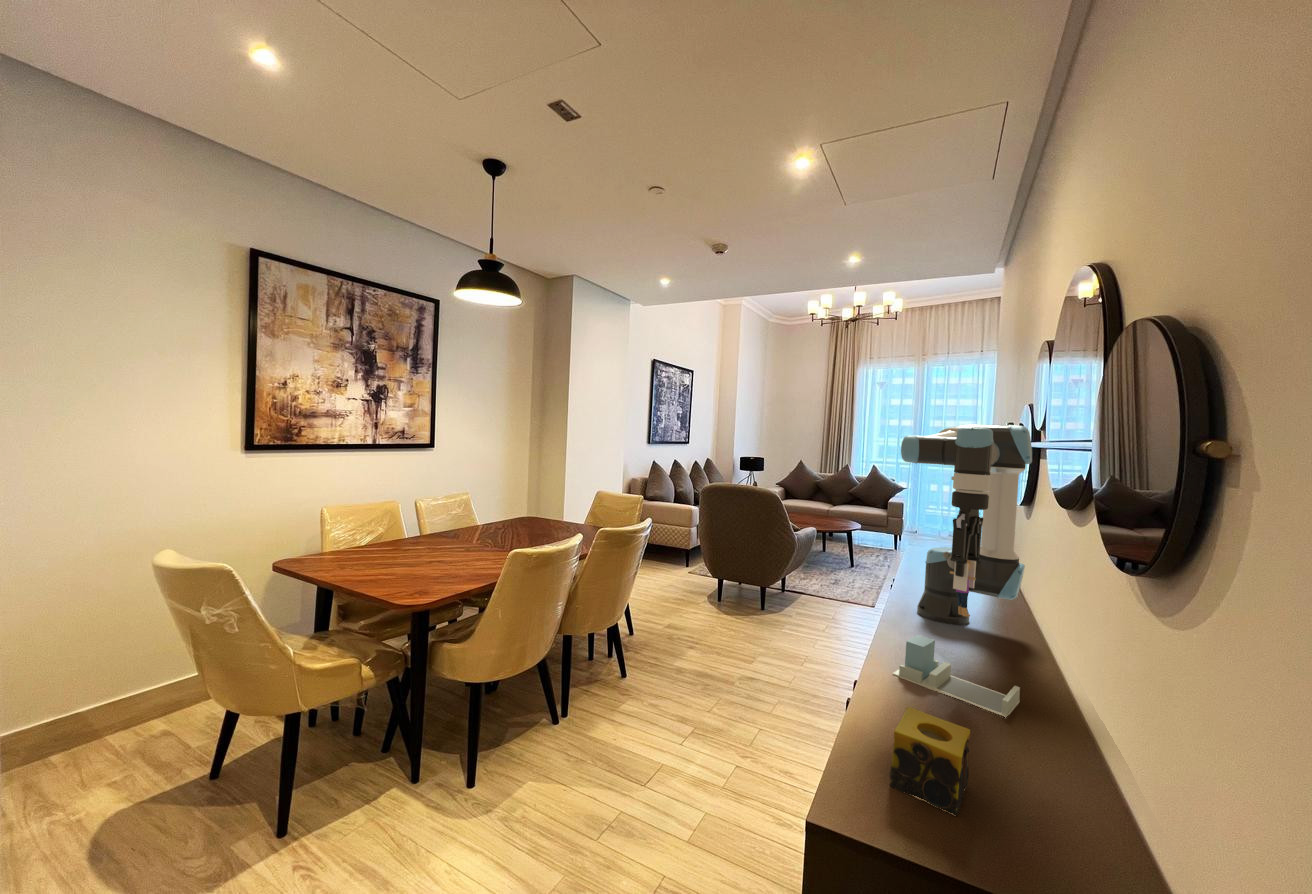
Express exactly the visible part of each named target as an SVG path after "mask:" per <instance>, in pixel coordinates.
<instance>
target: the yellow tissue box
mask: <svg viewBox="0 0 1312 894" xmlns="http://www.w3.org/2000/svg"><path fill="white" fill-rule="evenodd" d="M970 737H971V729H969V728H968V727H964V726H962V725H959V724H956V723H953V722H951V721H948V720H946V719H942V718H939V717H937V716H934V715H931V714H928V713H926V712H923V711H921V710H918V709H916V708H912V707H911V706H907V708H906V709H905V712H904V714H903V716H902V718H901V720H899V722H898V724H897V726H896V727H895V728H894V733H893V739H894V740H893V750H892V759H891V763H890V764H891V765H890V770H889V780H890V782H889V786H890V787H891V788H893V789H895V790H897V791H899V792H900V793H903V792H905V793H904V794H906V793H908V794H911V795H914V796H917V797H919V798H921V799H924V800H926V801H927V802H929V803H930V804H932V805H934V806H936V807H938V808H941V809H943V810H946V811H948V812H950V813H953V814H954V815H957V816H958V815H959V813H960V809H961V808H960V806H961V807H962V805H961V803H963V801H964V799H963V797H964V796H963V792H964V789H965V788H966V787H967V785H968V786H969V783H968V779H969V775H970V774H969V773H970V772H969V764H968V762H969V760H968V754H969V752H970V749H969V742H970V741H969V740H970ZM967 788H968V787H967ZM967 788H966V789H967ZM964 793H965V792H964ZM908 794H907V795H908ZM962 800H963V801H962ZM938 808H937V809H938ZM959 808H960V809H959ZM941 809H940V810H941ZM958 812H959V813H958Z"/></svg>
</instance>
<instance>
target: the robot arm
mask: <svg viewBox="0 0 1312 894" xmlns="http://www.w3.org/2000/svg"><path fill="white" fill-rule="evenodd" d="M1031 439H1032V438H1031V433H1030V430H1029V429H1028V428H1027V427H1026V426H1025V425H1018V424H1016V425H1013V424H978V423H977V424H974V423H973V424H970V423H968V424H962V425H956V426H952V427H948V428H944V429H942V430H940V431H939V432H938V433H934V434H929V435H917V434H916V435H906V436H904V437H903V439H902V441H901V445H900V447H901V448H900V455H901V459H902V460H903V461H904V462H906V463H910V464H911V463H912V464H926V465H927V464H928V465H943V466H953V467H954V469H953V475H952V476H951V478H950V479H951V480H952V483H953V484H952V488H953V490H954V491H952V493H951V506H952V507H954V508H958V509H959V510H958V514H957V516H956V518H955V517H954V518H953V519H952V527H953V528H952V529H953V531H952V545H951V547H950V546H948V547H947V546H945V547H943V546H941V547H933V548H930V549H929V550H928V551H927V553H926V559H925V574H924V590H923V593H922V595H921V597H920V600H919V601H918V604H917V610H916V612H917V614H918V615H919V616H920V617H922V618H924V619H927V620H930V621H933V622H936V623H941V624H944V623H945V625H951V624H952V625H954V626H963V625H964V624H965V625H968V624H969V623H970V616H963V615H960V614H959V613H958V596H957V591H956V589H957V590H962V591H967V580H968V576H970V577H974V578H976V580H971V579H969V593H975V594H979V595H984V596H990V597H993V598H997V599H1004V600H1010V601H1011V600H1015V599H1016V598H1017V597H1018V595H1019V592H1020V588H1021V585H1022V581H1023V577H1024V573H1025V564H1023V563H1022V562H1020V556H1019V555H1018V554H1017V553H1016V552H1015V550H1014V549H1015V536H1016V523H1017V522H1016V521H1017V509H1018V508H1017V506H1018V492H1019V480H1020V474H1021V473H1022V472H1024V471H1026V467H1027V466H1026V465H1029V464H1032V462H1033V447H1032V440H1031ZM980 511H982V516H980ZM944 552H949V553H950V554H952V556H951V561H955V567H954V569H952V568H951V567H950V566H949V565H948V562H947V559H945V558H944V557H943V553H944ZM967 560H969V561H970V563H971V568H970V570H969V571H968V566H969V564H968V563H967ZM950 571H952V572H954V574H951V573H950ZM969 613H970V612H969V610H968V608H967V614H969ZM952 625H951V626H952Z"/></svg>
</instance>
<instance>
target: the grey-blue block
mask: <svg viewBox="0 0 1312 894" xmlns="http://www.w3.org/2000/svg"><path fill="white" fill-rule="evenodd" d="M935 642H936V639H934V638H933V639H932V638H930V637H926V636H923V635H920V634H917V635H915V636H914V637H911V638H910V639H908V640H906V643H905V659H904V661H905V662H904V665H905V666H907V667H910V668H913V669H916V670H918V671H921V672H923V679H924V678H925V677H927V676H928V675H929V673H930V672H931V671H933V664H934V660H935V648H936V647H935V646H936V645H935V644H936V643H935Z"/></svg>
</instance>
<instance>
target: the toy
mask: <svg viewBox="0 0 1312 894" xmlns="http://www.w3.org/2000/svg"><path fill="white" fill-rule="evenodd" d="M951 556H952V554H950V553H949V552H944V553H943V557H944V558H945V559H947V562H948V565H949V566H950V567H951V568H952V569H954V567H955V561H951ZM967 563H968V564H969V566H968V571H969V570H970V568H971V563H970V561H969V560H967ZM950 573H951V574H954V572H952V571H950ZM969 579H971V580H976V578H974V577H970V576H968V580H967V591H962V590H957V589H956V591H957V596H958V613H959V614H960V615H963V616H969V617H971V614H967V609H968V599H969V597H968V596H969V593H970V592H969Z"/></svg>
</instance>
